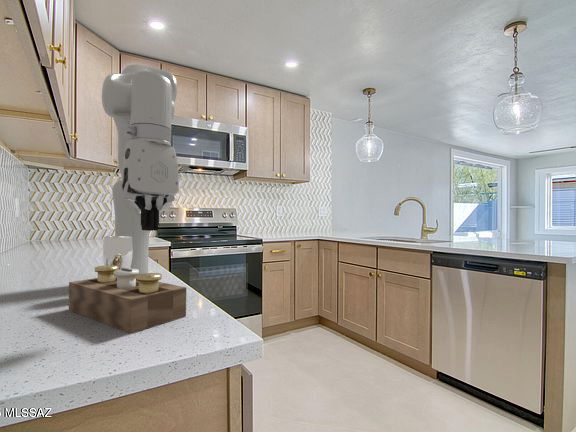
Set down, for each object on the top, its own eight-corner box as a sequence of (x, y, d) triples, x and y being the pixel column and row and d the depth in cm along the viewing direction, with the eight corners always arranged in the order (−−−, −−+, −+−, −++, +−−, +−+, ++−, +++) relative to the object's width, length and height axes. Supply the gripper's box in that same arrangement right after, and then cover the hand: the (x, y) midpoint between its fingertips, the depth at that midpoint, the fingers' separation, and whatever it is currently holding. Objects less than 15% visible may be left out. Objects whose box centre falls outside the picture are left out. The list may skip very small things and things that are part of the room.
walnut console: (68, 309, 70) (69, 282, 70) (122, 298, 80) (122, 274, 80) (130, 333, 57) (131, 299, 57) (186, 316, 67) (186, 287, 67)
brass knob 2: (130, 305, 64) (130, 275, 64) (152, 300, 68) (152, 272, 68) (144, 310, 61) (144, 278, 61) (166, 304, 65) (166, 274, 65)
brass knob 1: (90, 293, 72) (90, 267, 72) (111, 289, 76) (111, 264, 76) (100, 297, 70) (101, 269, 70) (122, 292, 74) (123, 266, 74)
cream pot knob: (108, 299, 68) (109, 269, 68) (130, 294, 72) (131, 266, 72) (121, 303, 65) (121, 271, 65) (143, 298, 69) (143, 268, 69)
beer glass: (100, 297, 81) (101, 237, 81) (103, 291, 87) (104, 235, 87) (131, 295, 84) (132, 237, 83) (132, 289, 90) (133, 235, 90)
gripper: (125, 126, 56) (123, 232, 56) (193, 143, 68) (192, 230, 68) (102, 132, 60) (101, 230, 60) (171, 147, 72) (170, 229, 72)
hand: (149, 230), depth 64 cm, fingers closed
